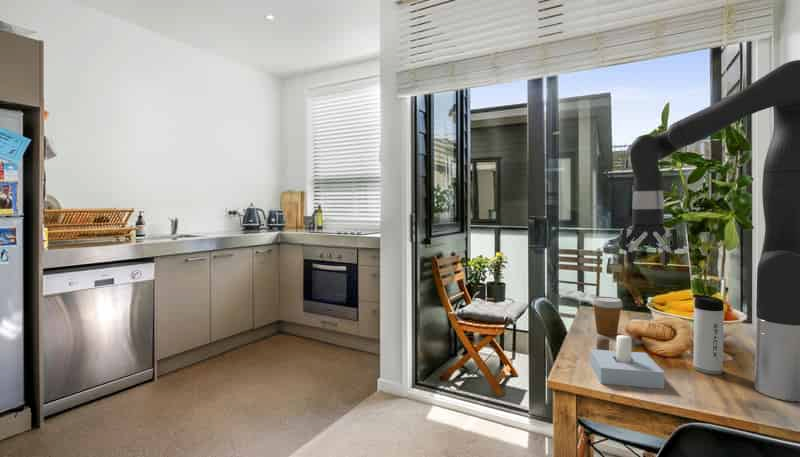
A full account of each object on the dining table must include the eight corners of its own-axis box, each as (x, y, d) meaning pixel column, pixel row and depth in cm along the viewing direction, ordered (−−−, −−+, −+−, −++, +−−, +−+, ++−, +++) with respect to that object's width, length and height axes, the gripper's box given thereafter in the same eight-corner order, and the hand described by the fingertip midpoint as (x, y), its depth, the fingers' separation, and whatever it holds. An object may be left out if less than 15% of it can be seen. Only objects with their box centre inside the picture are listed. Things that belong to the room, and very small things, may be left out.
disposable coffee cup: (623, 331, 146) (623, 297, 145) (621, 339, 138) (622, 303, 137) (593, 327, 151) (593, 295, 150) (590, 335, 142) (590, 300, 142)
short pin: (607, 353, 125) (607, 336, 124) (610, 357, 121) (610, 340, 121) (595, 352, 125) (595, 336, 125) (597, 356, 122) (598, 339, 122)
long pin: (628, 373, 110) (629, 335, 109) (632, 378, 106) (633, 339, 106) (614, 371, 111) (615, 334, 110) (618, 376, 107) (618, 338, 107)
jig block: (645, 367, 113) (645, 352, 113) (664, 388, 100) (664, 372, 100) (589, 363, 117) (590, 349, 117) (600, 383, 103) (601, 367, 103)
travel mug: (694, 363, 115) (695, 292, 114) (724, 370, 110) (726, 295, 110) (689, 370, 111) (690, 296, 110) (720, 377, 106) (722, 299, 105)
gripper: (624, 208, 114) (623, 266, 115) (682, 207, 111) (681, 267, 112) (616, 208, 122) (616, 263, 122) (671, 207, 118) (670, 263, 119)
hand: (647, 265), depth 117 cm, fingers open, 8 cm apart
